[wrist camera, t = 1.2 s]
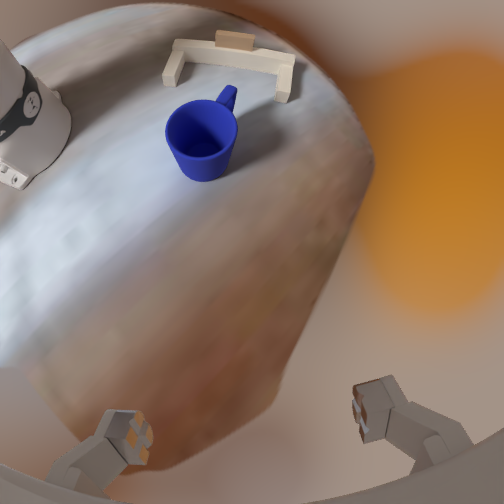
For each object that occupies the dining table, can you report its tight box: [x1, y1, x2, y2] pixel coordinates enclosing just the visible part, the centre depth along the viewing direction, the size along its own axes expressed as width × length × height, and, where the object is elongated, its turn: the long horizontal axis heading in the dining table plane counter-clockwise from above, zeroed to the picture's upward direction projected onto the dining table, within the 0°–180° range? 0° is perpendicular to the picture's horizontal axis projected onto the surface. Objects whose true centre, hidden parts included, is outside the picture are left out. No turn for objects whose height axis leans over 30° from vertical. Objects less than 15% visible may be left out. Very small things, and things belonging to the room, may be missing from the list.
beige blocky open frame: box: [162, 30, 295, 103], centre depth 40 cm, size 20×8×7 cm, turn 82°
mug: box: [165, 85, 238, 182], centre depth 37 cm, size 8×12×10 cm
